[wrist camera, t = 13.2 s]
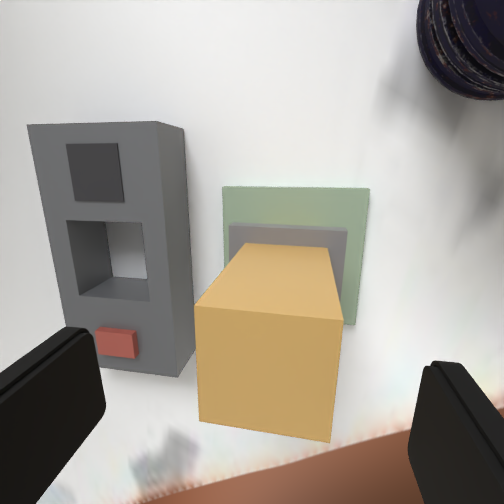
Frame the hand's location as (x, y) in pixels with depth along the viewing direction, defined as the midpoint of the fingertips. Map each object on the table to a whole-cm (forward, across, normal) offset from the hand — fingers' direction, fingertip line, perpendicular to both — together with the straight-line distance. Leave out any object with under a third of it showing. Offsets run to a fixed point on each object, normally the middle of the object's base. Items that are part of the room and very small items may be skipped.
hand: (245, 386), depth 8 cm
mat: (+15, -1, +1) cm, 15 cm away
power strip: (+15, +12, +1) cm, 19 cm away
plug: (+14, -1, +1) cm, 14 cm away
